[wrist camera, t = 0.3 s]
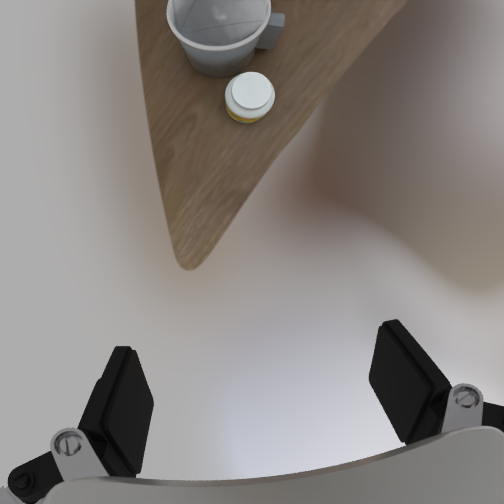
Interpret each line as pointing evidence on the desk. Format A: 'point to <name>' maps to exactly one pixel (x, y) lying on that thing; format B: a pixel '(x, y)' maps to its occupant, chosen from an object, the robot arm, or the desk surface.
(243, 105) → the supplement bottle
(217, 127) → the desk surface
